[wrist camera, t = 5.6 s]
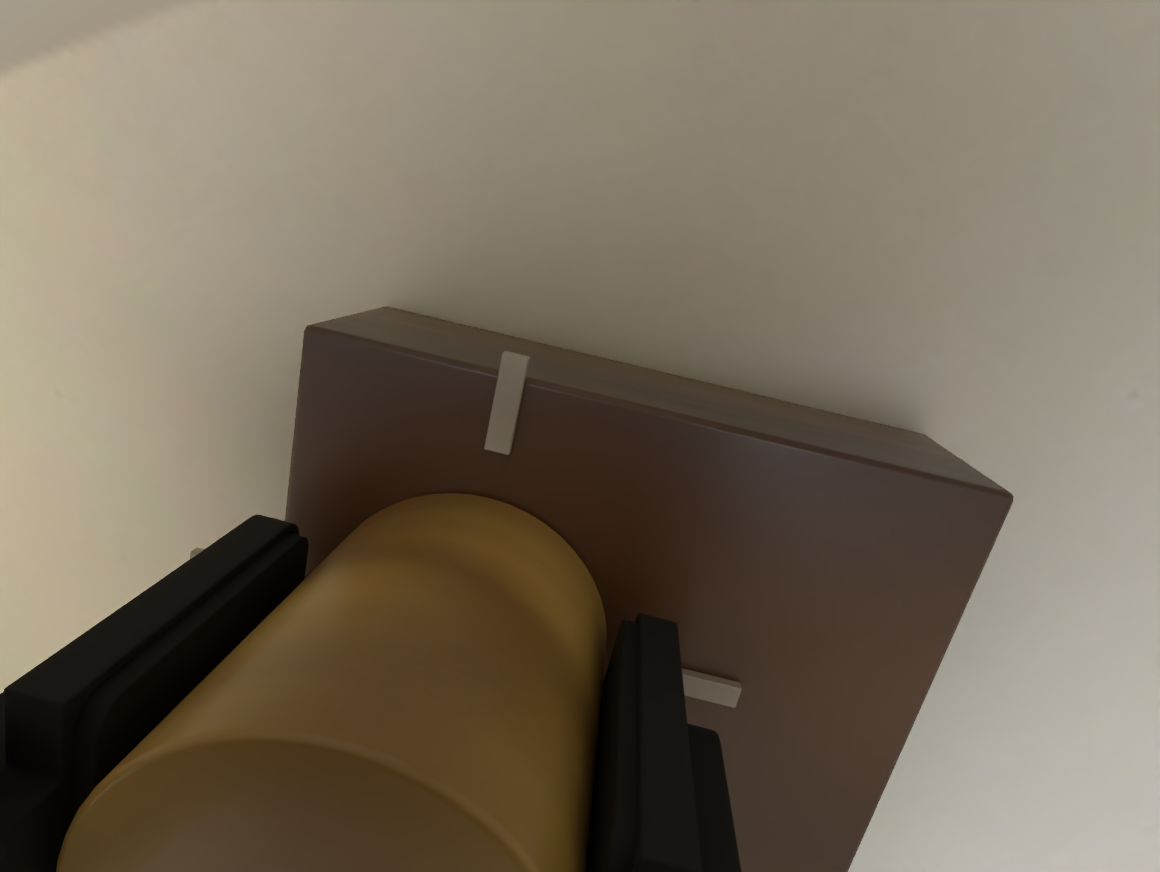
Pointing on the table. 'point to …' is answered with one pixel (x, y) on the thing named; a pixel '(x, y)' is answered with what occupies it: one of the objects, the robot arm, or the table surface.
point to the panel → (681, 539)
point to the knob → (382, 716)
